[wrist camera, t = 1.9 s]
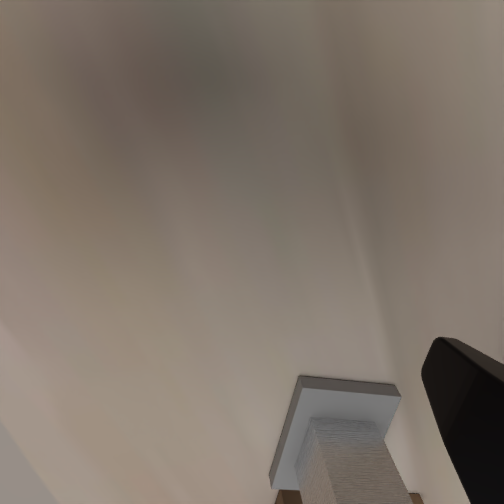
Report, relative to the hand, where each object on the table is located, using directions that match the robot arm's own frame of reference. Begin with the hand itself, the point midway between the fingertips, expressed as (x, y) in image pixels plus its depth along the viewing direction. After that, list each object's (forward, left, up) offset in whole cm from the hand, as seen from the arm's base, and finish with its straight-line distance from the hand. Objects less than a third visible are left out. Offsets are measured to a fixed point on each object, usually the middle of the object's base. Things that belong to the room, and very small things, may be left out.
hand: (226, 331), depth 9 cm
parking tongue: (-10, +15, -13) cm, 22 cm away
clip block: (-10, +15, -12) cm, 22 cm away
